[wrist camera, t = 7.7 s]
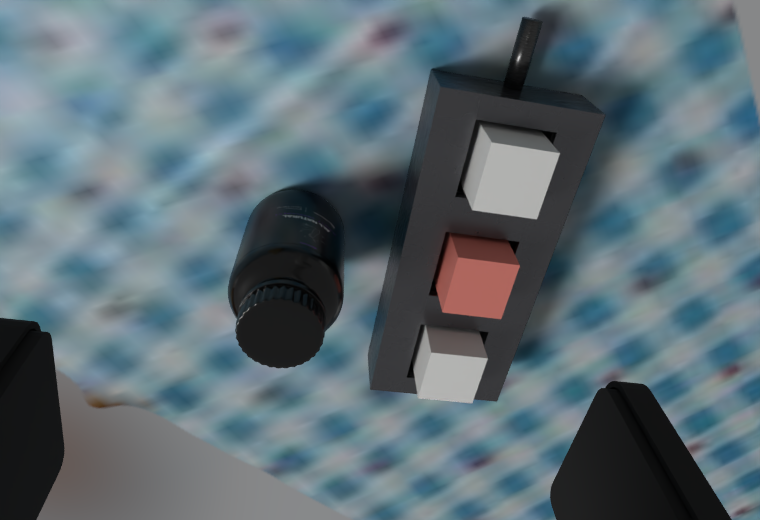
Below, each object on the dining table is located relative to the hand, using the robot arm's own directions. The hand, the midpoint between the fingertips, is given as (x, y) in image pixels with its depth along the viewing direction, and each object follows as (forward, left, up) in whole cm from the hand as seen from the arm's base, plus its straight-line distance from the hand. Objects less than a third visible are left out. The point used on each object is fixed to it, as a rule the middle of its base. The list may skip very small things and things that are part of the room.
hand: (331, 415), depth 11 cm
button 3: (+20, +11, -30) cm, 37 cm away
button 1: (+4, +11, -30) cm, 32 cm away
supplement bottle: (+13, -1, -31) cm, 33 cm away
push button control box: (+10, +11, -30) cm, 34 cm away
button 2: (+12, +11, -30) cm, 34 cm away
